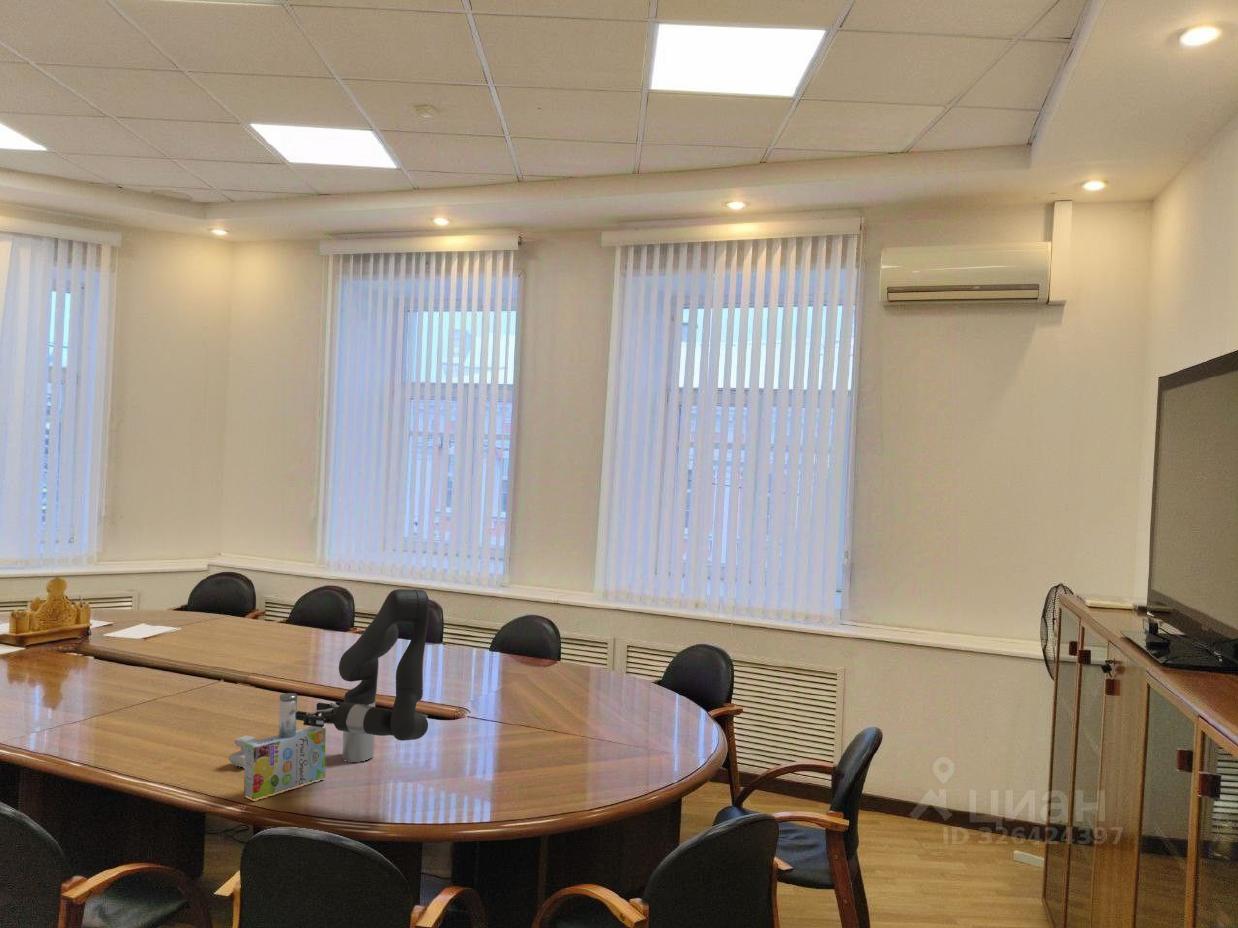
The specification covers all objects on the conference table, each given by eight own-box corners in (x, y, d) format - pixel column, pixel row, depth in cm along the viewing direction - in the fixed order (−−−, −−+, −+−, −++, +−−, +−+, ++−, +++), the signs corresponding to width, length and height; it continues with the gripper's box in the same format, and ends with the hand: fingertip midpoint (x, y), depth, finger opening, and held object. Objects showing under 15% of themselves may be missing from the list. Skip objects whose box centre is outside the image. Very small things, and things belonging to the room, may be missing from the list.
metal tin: (282, 731, 230) (283, 692, 230) (298, 732, 230) (299, 693, 230) (275, 737, 226) (277, 697, 226) (292, 737, 226) (294, 697, 226)
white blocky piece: (265, 764, 245) (266, 736, 244) (246, 772, 238) (247, 743, 238) (243, 759, 248) (244, 731, 248) (224, 766, 242) (225, 738, 242)
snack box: (314, 775, 238) (316, 723, 238) (325, 780, 234) (327, 728, 234) (242, 797, 222) (244, 741, 221) (253, 803, 218) (254, 746, 218)
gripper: (372, 697, 227) (324, 690, 233) (340, 711, 214) (289, 704, 219) (372, 724, 227) (323, 716, 233) (339, 740, 214) (288, 732, 219)
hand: (306, 710), depth 226 cm, fingers open, 8 cm apart
